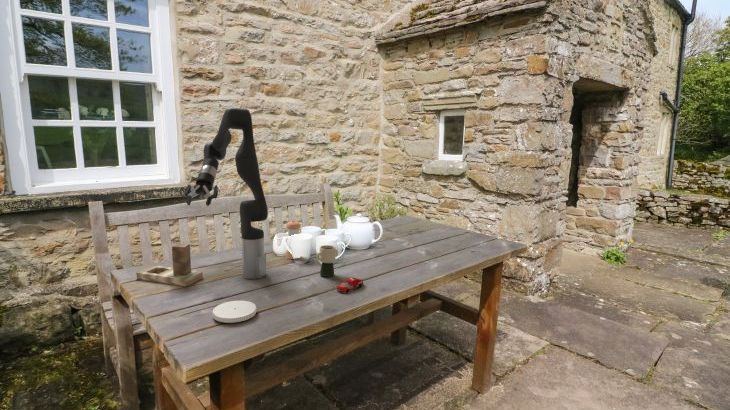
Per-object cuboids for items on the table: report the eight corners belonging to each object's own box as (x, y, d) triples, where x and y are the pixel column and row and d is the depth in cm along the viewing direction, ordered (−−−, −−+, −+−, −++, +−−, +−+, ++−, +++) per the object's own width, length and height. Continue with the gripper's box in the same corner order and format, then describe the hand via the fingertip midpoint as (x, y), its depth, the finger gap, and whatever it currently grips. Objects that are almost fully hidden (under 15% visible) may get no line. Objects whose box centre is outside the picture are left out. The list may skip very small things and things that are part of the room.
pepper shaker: (283, 257, 198) (283, 220, 195) (294, 254, 203) (294, 218, 200) (291, 260, 193) (291, 222, 190) (303, 257, 199) (303, 220, 195)
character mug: (332, 270, 180) (332, 243, 178) (341, 275, 175) (342, 247, 173) (312, 275, 173) (312, 247, 171) (321, 280, 168) (321, 251, 166)
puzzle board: (202, 278, 166) (202, 271, 165) (186, 286, 156) (186, 279, 156) (155, 271, 172) (154, 264, 171) (136, 279, 162) (136, 272, 161)
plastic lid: (229, 304, 142) (229, 298, 142) (264, 310, 138) (264, 304, 138) (203, 321, 129) (203, 314, 128) (240, 328, 125) (240, 321, 124)
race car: (343, 295, 153) (343, 285, 153) (333, 291, 157) (334, 282, 156) (365, 286, 163) (365, 277, 163) (355, 283, 167) (356, 274, 166)
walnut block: (191, 271, 164) (189, 243, 162) (185, 275, 159) (184, 247, 157) (179, 271, 164) (177, 243, 162) (173, 275, 159) (171, 246, 157)
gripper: (188, 171, 183) (178, 199, 174) (219, 172, 183) (211, 200, 174) (194, 181, 189) (184, 208, 180) (223, 182, 189) (215, 209, 180)
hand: (197, 204), depth 177 cm, fingers open, 8 cm apart
